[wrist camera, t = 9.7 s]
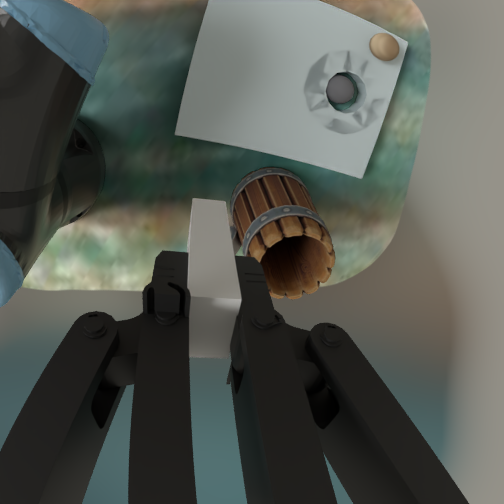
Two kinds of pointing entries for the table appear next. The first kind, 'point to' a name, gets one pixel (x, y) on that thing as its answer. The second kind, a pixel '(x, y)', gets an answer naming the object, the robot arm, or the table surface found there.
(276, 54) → the white slab
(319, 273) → the mug
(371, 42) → the cork ball
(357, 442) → the robot arm
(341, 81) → the ball
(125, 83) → the table surface
